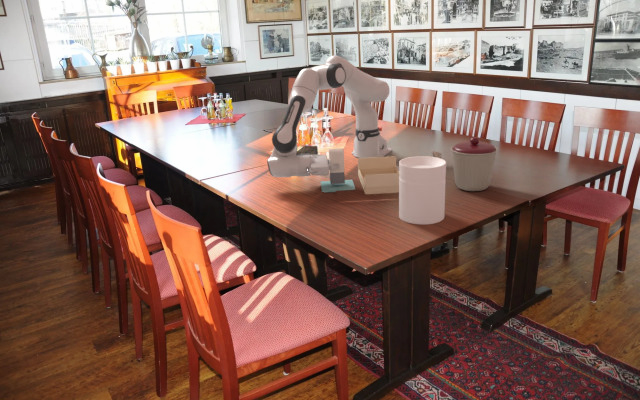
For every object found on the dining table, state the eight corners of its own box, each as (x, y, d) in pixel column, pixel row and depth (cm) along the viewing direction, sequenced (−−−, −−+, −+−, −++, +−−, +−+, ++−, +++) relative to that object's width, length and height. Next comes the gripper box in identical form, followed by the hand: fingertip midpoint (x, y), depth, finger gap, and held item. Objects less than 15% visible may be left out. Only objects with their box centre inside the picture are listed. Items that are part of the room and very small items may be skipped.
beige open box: (365, 195, 211) (365, 175, 208) (358, 176, 236) (357, 158, 233) (407, 193, 211) (407, 172, 208) (395, 174, 237) (396, 156, 234)
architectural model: (435, 169, 242) (436, 154, 240) (425, 166, 248) (425, 151, 245) (441, 168, 244) (441, 153, 241) (431, 165, 249) (431, 150, 247)
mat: (321, 192, 217) (321, 191, 216) (320, 182, 230) (320, 181, 230) (355, 190, 217) (355, 189, 217) (352, 180, 230) (352, 179, 230)
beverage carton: (291, 166, 258) (290, 153, 256) (304, 156, 276) (303, 144, 273) (306, 167, 256) (305, 154, 254) (318, 157, 273) (318, 145, 271)
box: (330, 184, 220) (329, 152, 216) (330, 180, 225) (328, 149, 220) (344, 183, 220) (343, 151, 216) (343, 180, 225) (342, 148, 221)
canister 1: (438, 207, 194) (439, 155, 188) (449, 223, 179) (451, 167, 172) (395, 209, 194) (395, 157, 187) (403, 225, 179) (403, 169, 172)
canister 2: (461, 178, 226) (463, 130, 219) (502, 185, 215) (505, 135, 208) (441, 190, 213) (443, 139, 206) (484, 197, 202) (487, 144, 195)
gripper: (306, 165, 209) (340, 163, 209) (305, 152, 228) (336, 151, 229) (306, 180, 211) (340, 178, 211) (306, 166, 230) (337, 164, 231)
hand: (338, 164), depth 220 cm, fingers closed on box, 5 cm apart
